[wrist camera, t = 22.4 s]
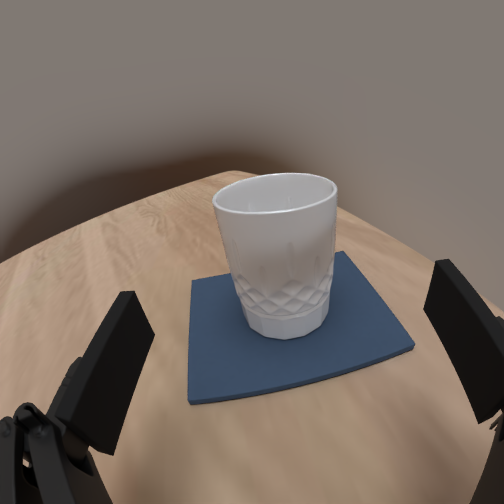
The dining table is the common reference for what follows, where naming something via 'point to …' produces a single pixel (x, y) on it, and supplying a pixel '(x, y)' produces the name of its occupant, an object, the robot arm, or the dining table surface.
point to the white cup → (280, 249)
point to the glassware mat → (290, 350)
